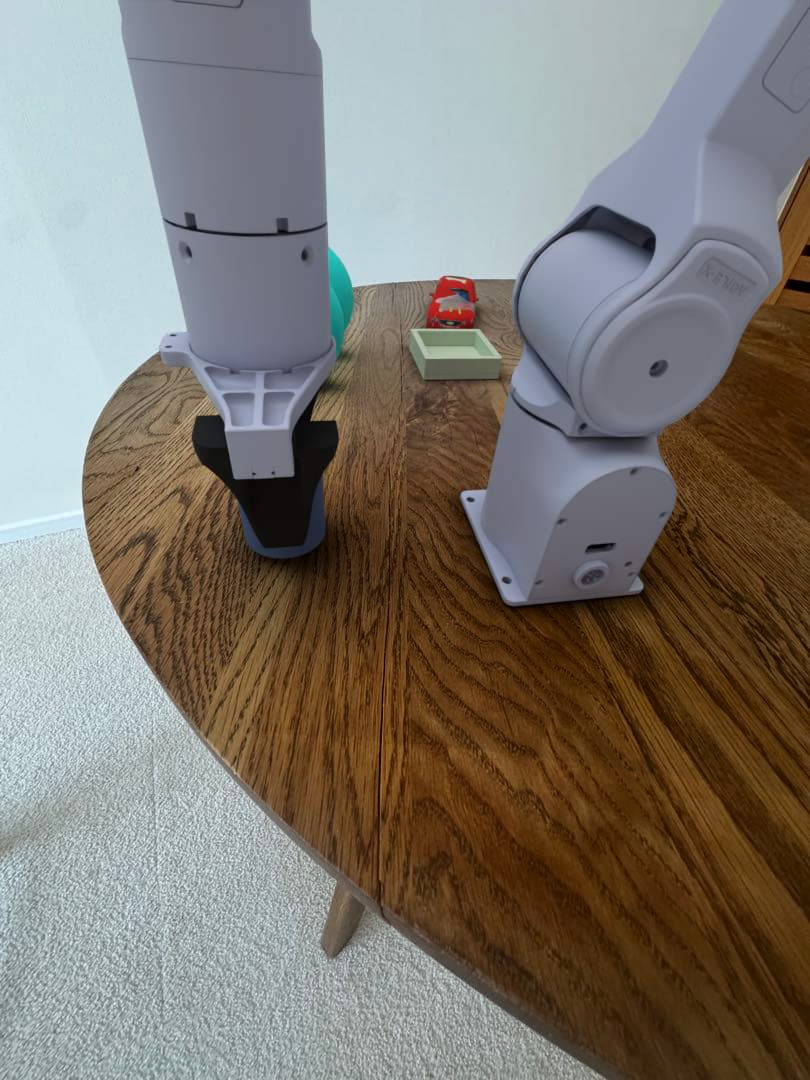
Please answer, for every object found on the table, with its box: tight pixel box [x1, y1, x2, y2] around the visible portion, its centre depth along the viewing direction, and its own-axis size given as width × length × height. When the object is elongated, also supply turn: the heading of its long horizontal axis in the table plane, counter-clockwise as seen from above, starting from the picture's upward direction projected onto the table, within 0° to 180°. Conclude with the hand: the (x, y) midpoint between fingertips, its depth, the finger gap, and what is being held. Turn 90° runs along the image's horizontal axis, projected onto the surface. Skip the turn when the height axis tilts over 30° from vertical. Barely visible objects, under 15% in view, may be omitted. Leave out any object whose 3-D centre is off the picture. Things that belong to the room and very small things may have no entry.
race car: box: [425, 275, 480, 329], centre depth 57 cm, size 13×5×4 cm, turn 171°
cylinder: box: [237, 474, 326, 560], centre depth 27 cm, size 4×4×4 cm
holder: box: [408, 328, 503, 381], centre depth 48 cm, size 7×7×2 cm
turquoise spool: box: [328, 246, 355, 360], centre depth 42 cm, size 10×10×10 cm
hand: (283, 511), depth 27 cm, fingers closed on cylinder, 4 cm apart
